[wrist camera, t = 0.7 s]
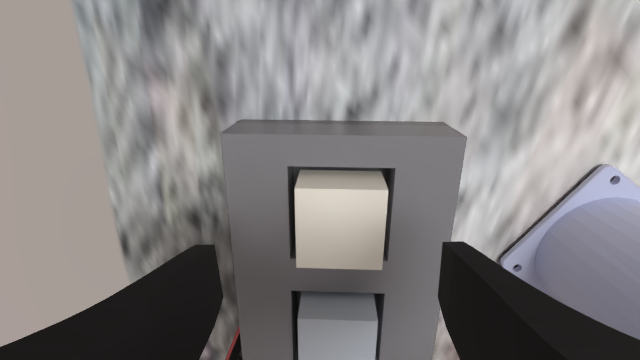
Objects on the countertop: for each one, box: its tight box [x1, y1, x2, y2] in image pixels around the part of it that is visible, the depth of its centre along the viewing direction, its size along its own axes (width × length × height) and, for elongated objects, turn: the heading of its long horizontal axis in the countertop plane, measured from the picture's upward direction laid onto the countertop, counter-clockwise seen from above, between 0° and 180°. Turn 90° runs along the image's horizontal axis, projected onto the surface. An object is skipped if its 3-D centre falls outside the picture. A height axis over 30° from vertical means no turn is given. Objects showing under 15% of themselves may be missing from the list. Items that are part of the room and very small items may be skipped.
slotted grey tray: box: [221, 120, 467, 360], centre depth 21 cm, size 22×11×4 cm, turn 0°
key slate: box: [298, 291, 378, 360], centre depth 19 cm, size 4×4×2 cm
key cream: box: [294, 170, 388, 270], centre depth 16 cm, size 4×4×2 cm
